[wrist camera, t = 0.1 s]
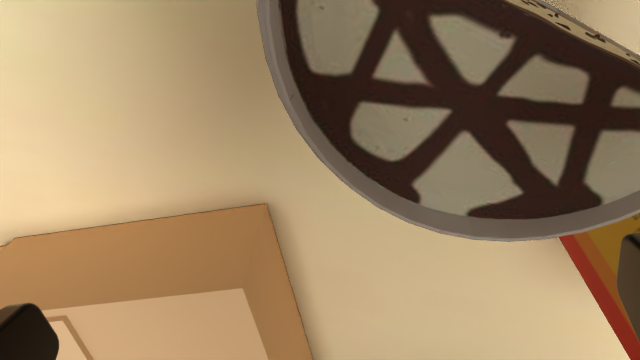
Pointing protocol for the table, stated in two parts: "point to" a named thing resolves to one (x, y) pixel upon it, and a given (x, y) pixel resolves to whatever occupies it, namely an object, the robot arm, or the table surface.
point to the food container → (463, 111)
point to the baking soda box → (605, 273)
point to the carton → (161, 289)
